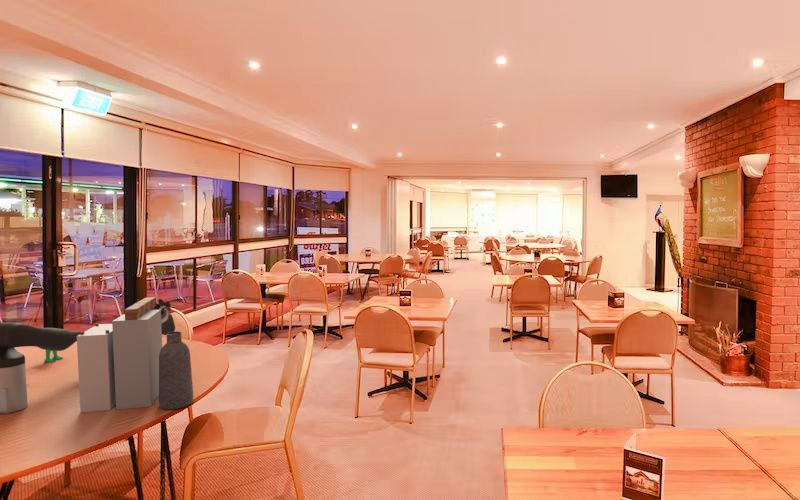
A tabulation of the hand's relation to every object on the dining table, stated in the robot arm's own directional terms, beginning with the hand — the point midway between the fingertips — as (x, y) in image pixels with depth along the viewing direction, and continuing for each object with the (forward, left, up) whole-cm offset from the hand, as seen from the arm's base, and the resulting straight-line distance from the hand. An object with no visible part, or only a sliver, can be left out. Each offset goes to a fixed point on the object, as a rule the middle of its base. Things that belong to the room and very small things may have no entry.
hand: (148, 301), depth 202 cm
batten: (-9, -4, -3) cm, 11 cm away
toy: (+23, +75, -37) cm, 86 cm away
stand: (-17, -1, -37) cm, 40 cm away
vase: (-17, -24, -37) cm, 47 cm away
